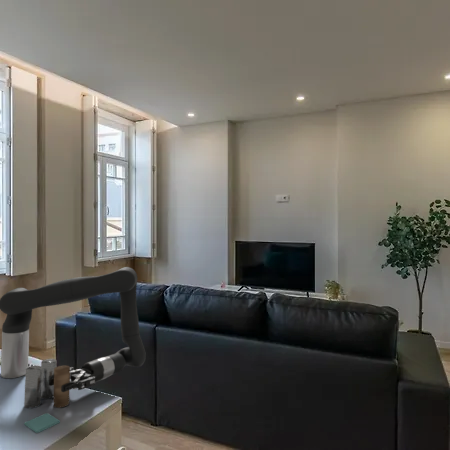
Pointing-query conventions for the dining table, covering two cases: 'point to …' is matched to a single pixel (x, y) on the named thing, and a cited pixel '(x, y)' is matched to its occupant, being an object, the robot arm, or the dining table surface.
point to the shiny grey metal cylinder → (47, 378)
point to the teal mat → (42, 422)
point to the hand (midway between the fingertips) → (55, 385)
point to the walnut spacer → (60, 379)
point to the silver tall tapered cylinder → (33, 386)
